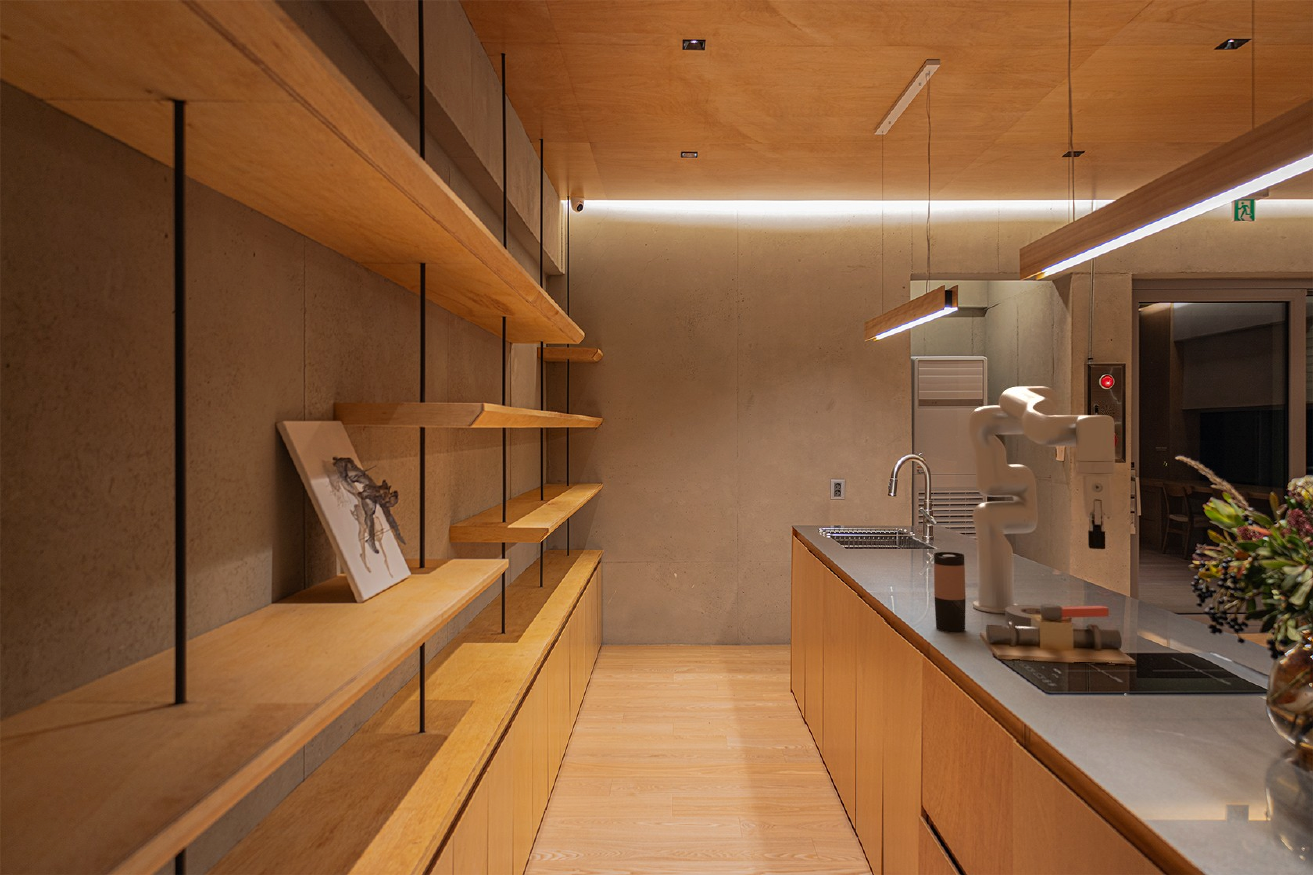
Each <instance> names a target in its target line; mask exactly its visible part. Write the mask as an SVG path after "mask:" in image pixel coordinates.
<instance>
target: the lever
mask: <svg viewBox="0 0 1313 875" xmlns="http://www.w3.org/2000/svg"><path fill="white" fill-rule="evenodd" d="M1040 606H1041V617H1042V618H1045V619H1051V620H1060V619H1062V618H1067V617H1071V618H1094V617H1095V618H1099V617H1100V618H1105V617H1106V618H1107V617H1110V616H1109V614H1110V612H1109V610H1110V609H1109V607H1107V606H1104V605H1078V606H1077V605H1075V606H1074V605H1071V606H1061V605H1057V604H1051V603H1050V604H1049V603H1044V604H1043V603H1042V604H1040Z"/></svg>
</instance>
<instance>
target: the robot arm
mask: <svg viewBox="0 0 1313 875" xmlns="http://www.w3.org/2000/svg"><path fill="white" fill-rule="evenodd" d="M1059 404H1060V403H1059V397H1058V394H1057V393H1056V392H1055V390H1053V389H1052V388H1050V387H1047V386H1014V387H1010V388H1007V389H1006V390H1004V391H1003V392H1002V393H1001V395H999V398H998V405H986V406H979V407H977V408H976V409H974V410H973V411H972V412H971V413H970V415H969V418H968V434H969V437H970V438H969V439H970V440H971V443H972V447H973V450H974V464H975V480H976V482H975V483H976V487H977V490H978V493H979V494H980V495H981V496H983V497H990V498H992V497H993V498H995V497H997V498H1003V497H1012V499H1013V500H1012V501H1011V500H1008V501H1006V500H1005V501H1004V500H1003V501H999V500H998V501H997V500H996V501H995V500H994V501H986V502H981V503H979V504H977V505H976V506H975V508H973V511H972V521H973V525H974V530H975V536H976V553H977V554H976V555H977V594H978V595H977V596H978V597H977V598H978V599H977V600H975V601H973V602H972V607H973V608H974V609H976V610H979V611H982V612H987V613H992V614H993V613H994V614H1005V608H1006V607H1008V606H1013V605H1019V604H1018V603H1015V583H1014V582H1015V579H1014V576H1015V574H1014V551H1013V547H1012V544H1011V543H1010V542H1009V541H1008V539H1007V538H1006V536H1005V535H1008V534H1009V535H1010V534H1028V533H1032V532H1034V531H1035V530H1036V528H1037V526H1038V522H1039V512H1038V498H1037V483H1036V477H1035V474H1034V473H1033V471H1032V470H1031V469H1030V468H1029V467H1028V466H1026V465H1023V464H1019V463H1017V464H1014V463H1013V464H1008V462H1007V460H1008V459H1007V450H1006V447H1005V445H1004V444H1003V443H1002V441H1001V440H1000V438H998V437H997V436H998V435H1003V436H1004V435H1024V436H1025V437H1026V438H1027V439H1028V440H1030V441H1033V442H1034V443H1036V444H1038V445H1040V446H1042V447H1047V448H1048V447H1050V448H1054V447H1056V448H1057V447H1076V448H1075V450H1076V452H1075V453H1076V455H1075V456H1076V458H1075V459H1076V476H1082V495H1083V508H1084V512H1085V517H1086V518H1087V519H1088V528H1089V530H1088V531H1087V534H1088V535H1087V536H1088V544H1087V545H1088V549H1093V550H1105V549H1106V531H1105V517H1106V519H1108V520H1112V518H1113V508H1112V486H1111V477H1113V476H1116V446H1115V445H1116V444H1115V442H1116V440H1115V439H1116V438H1115V420H1114V418H1113V417H1112V416H1110V415H1106V414H1104V415H1102V414H1096V415H1095V414H1093V415H1088V414H1077V415H1076V414H1074V415H1073V414H1064V415H1061V414H1060V415H1058V414H1057V412H1058V408H1059ZM996 435H997V436H996Z"/></svg>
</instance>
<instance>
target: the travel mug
mask: <svg viewBox="0 0 1313 875" xmlns="http://www.w3.org/2000/svg"><path fill="white" fill-rule="evenodd" d="M933 563H934V564H933V573H934V574H933V580H934V581H933V582H934V583H933V584H934V593H933V594H934V610H935V611H934V612H935V614H934V615H935V629H937V630H938V631H940V632H944V633H949V634H951V633H952V634H959V633H963V632H965V631H966V607H967V606H966V604H967V602H966V600H967V599H966V596H967V595H966V571H965V570H966V568H965V567H966V566H965V565H966V564H965V554H963V553H962V552H961V553H959V552H953V551H940V552H939V551H938V552H934V554H933Z"/></svg>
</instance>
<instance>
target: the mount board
mask: <svg viewBox="0 0 1313 875" xmlns="http://www.w3.org/2000/svg"><path fill="white" fill-rule="evenodd" d="M979 637H980V639H981V640H982V642H984V643H985V645H986V646H987V647H988V648H989V650H990V651H991V652H992V654H994V656H995V657H996V658H997V659H998V660H1012V659H1020V660H1019V661H1033V660H1034V661H1033V662H1035V661H1037V662H1055V663H1056V662H1058V663H1074V662H1109V663H1111V662H1112V663H1127V664H1135V665H1136V660H1134V659H1133V658H1132V657H1130V656H1129V655H1127V654H1126V653H1125V652H1123V651H1122V650H1120V649H1104V648H1102V649H1101V651H1095V650H1094V649H1092V648H1082V647H1073V649H1074V651H1062V650H1040V649H1039V648H1038V647H1037V646H1036V645H1017V646H1016V647H1011V646H1010V645H1009V644H990V643H988V641H987V636H986V632H979Z"/></svg>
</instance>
